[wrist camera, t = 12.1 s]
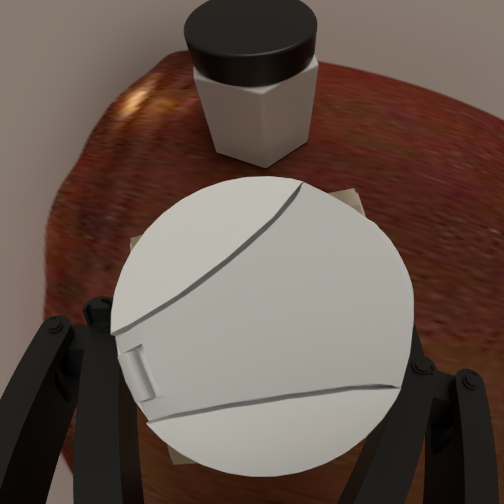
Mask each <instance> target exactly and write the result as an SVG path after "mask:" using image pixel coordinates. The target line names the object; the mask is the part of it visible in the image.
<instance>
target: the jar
mask: <svg viewBox="0 0 504 504" xmlns="http://www.w3.org/2000/svg"><path fill="white" fill-rule="evenodd" d="M316 33H317V19H316V16H315V14H314V13H313V11H312V10H311V9H310V8H309V7H308V6H307V5H306V4H304V3H303V2H302V1H300V0H209V1H207V2H205V3H204V4H202V5H201V6H199V7H198V8H196V9H195V10H194V11H193V12H192V13H191V14H190V16H189V17H188V18H187V20H186V22H185V25H184V36H185V40H186V43H187V46H188V50H189V53H190V57H191V60H192V63H193V65H194V81H195V84H196V87H197V91H198V94H199V97H200V101H201V104H202V107H203V110H204V114H205V117H206V120H207V123H208V127H209V130H210V133H211V137H212V140H213V143H214V146H215V150H216V152H217V153H220V154H223V155H226V156H229V157H232V158H235V159H239V160H242V161H245V162H248V163H251V164H254V165H256V166H259V167H262V168H268V167H269V166H271V165H272V164H274V163H275V162H277V161H278V160H280V159H281V158H283V157H284V156H286V155H287V154H289V153H290V152H292V151H293V150H295V149H297V148H298V147H300V146H301V145H303V144H304V143H306V142H307V141H308V135H309V129H310V122H311V115H312V109H313V102H314V95H315V87H316V80H317V73H318V61H317V59H316V57H315V54H314V52H315V43H316Z"/></svg>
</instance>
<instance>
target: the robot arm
mask: <svg viewBox="0 0 504 504" xmlns="http://www.w3.org/2000/svg"><path fill="white" fill-rule="evenodd" d="M112 305H113V298H110V297H104V296H101V297H96V298H94V299H92V300H89V301H88V302H87V303H86V304H85V305H84V307H83V312H84V315H85V318H86V321H87V324H88V325H71V323H70V320H69V319H68V318H67V317H65V316H62V315H56V316H52V317H50V318H48V319H47V320H45V321H44V322H43V323H42V325H41V326H40V328H39V330H38V331H37V333H36V335H35V336H34V338H33V340H32V341H31V343H30V345H29V347H28V348H27V350H26V352H25V354H24V355H23V357H22V359H21V361H20V363H19V364H18V366H17V368H16V370H15V372H14V374H13V375H12V377H11V379H10V381H9V383H8V385H7V387H6V389H5V391H4V393H3V395H2V397H1V399H0V504H46V501H47V496H48V493H49V489H50V485H51V482H52V478H53V474H54V472H55V468H56V465H57V462H58V458H59V455H60V452H61V449H62V446H63V443H64V440H65V437H66V434H67V431H68V428H69V425H70V422H71V419H72V416H73V414H74V411H75V408H76V405H77V412H76V425H75V440H74V465H73V495H74V496H73V498H74V504H144V498H143V489H142V480H141V470H140V459H139V446H138V430H137V407H136V403H135V401H134V398H133V396H132V394H131V391H130V389H129V387H128V385H127V383H126V381H125V378H124V375H123V372H122V368H121V366H120V363H119V360H118V358H117V357H118V350H117V343H116V339H115V338H116V336H113V335H111V311H112ZM424 436H425V479H424V497H423V504H499V496H498V476H497V463H496V453H495V445H494V437H493V430H492V423H491V417H490V411H489V406H488V400H487V395H486V390H485V386H484V382H483V380H482V378H481V376H480V375H479V374H478V373H476V372H475V371H473V370H471V369H461V370H460V371H458V372H457V374H456V375H455V376H453V375H450V374H446V373H443V372H440V371H438V370H437V369H436V366H435V364H434V362H433V361H431V360H430V359H429V358H428V357H426V356H424V352H423V349H422V346H421V343H420V339H419V336H418V333H417V331H416V327H415V324H414V321H413V331H412V340H411V349H410V355H409V359H408V363H407V367H406V370H405V374H404V378H403V382H402V386H401V390H400V392H399V394H398V396H397V398H396V400H395V402H394V403H393V405H392V406H391V408H390V409H389V411H388V412H387V414H386V415H385V417H384V418H383V419H382V421H381V422H380V423H379V424H378V425H377V426H376V427H375V428H374V429H373V430H372V431H371V432H370V433H369V434H368V437H367V439H366V442H365V444H364V447H363V449H362V451H361V454H360V456H359V458H358V461H357V463H356V465H355V467H354V470H353V472H352V474H351V476H350V478H349V480H348V482H347V484H346V487H345V489H344V491H343V493H342V495H341V497H340V499H339V501H338V503H337V504H404V502H405V500H406V497H407V494H408V491H409V488H410V485H411V482H412V479H413V476H414V472H415V469H416V466H417V462H418V459H419V455H420V451H421V448H422V444H423V440H424Z"/></svg>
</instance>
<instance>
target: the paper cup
mask: <svg viewBox="0 0 504 504" xmlns="http://www.w3.org/2000/svg"><path fill="white" fill-rule="evenodd" d="M413 319H414V299H413V289H412V284H411V280H410V277H409V275H408V272H407V269H406V267H405V265H404V263H403V261H402V259H401V257H400V255H399V253H398V251H397V250H396V248H395V247H394V245H393V244H392V242H391V241H390V239H389V238H388V237H387V236H386V235H385V233H384V232H383V231H381V230H380V228H379V227H378V226H377V225H376V224H375V223H373V222H372V221H370V220H369V219H367V218H365V217H364V216H363V215H362V214H360V213H359V212H358V211H356V210H355V209H353V208H352V207H350V206H349V205H347V204H345V203H343V202H342V201H340V200H338V199H337V198H335V197H333V196H331V195H329V194H327V193H325V192H323V191H321V190H319V189H317V188H315V187H313V186H310V185H308V184H306V183H304V182H302V181H298V180H295V179H289V178H280V177H271V176H264V177H245V178H239V179H234V180H229V181H224V182H221V183H218V184H215V185H212V186H209V187H206V188H203V189H201V190H199V191H197V192H195V193H193V194H192V195H190V196H188V197H186V198H184V199H182V200H181V201H179V202H178V203H176V204H175V205H174V206H172V207H171V208H170V209H168V210H167V211H166V212H164V213H163V214H162V215H161V216H160V217H159V218H158V219H157V220H156V221H155V222H154V223H153V224H152V225H151V226H150V227H149V228H148V229H147V230H146V231H145V233H144V234H143V235H142V237H141V238H140V240H139V241H138V242H137V244H136V245H135V246H134V248H133V249H132V251H131V253H130V255H129V257H128V259H127V261H126V263H125V265H124V267H123V269H122V272H121V274H120V277H119V280H118V283H117V286H116V289H115V294H114V299H113V305H112V311H111V335H113V336H116V338H115V339H116V343H117V350H118V357H117V358H118V360H119V363H120V366H121V368H122V372H123V375H124V378H125V381H126V383H127V385H128V387H129V389H130V391H131V394H132V396H133V398H134V401H135V403H137V405H138V406H139V407H140V409H141V410H142V412H143V413H144V414H145V416H146V417H147V419H148V420H149V421H148V422H147V423H146V424H147V425H148V426H149V427H150V428H151V429H152V430H153V431H154V432H155V433H156V434H157V435H158V436H159V437H160V438H161V439H162V440H163V441H164V442H166V443H167V444H168V445H170V446H171V447H172V448H174V449H175V450H176V451H178V452H179V453H181V454H182V455H184V456H186V457H188V458H190V459H192V460H194V461H196V462H198V463H200V464H202V465H204V466H207V467H210V468H213V469H216V470H219V471H222V472H225V473H230V474H236V475H243V476H250V477H275V476H282V475H288V474H294V473H299V472H303V471H306V470H309V469H312V468H315V467H318V466H320V465H323V464H325V463H327V462H329V461H331V460H333V459H335V458H337V457H339V456H340V455H342V454H344V453H346V452H347V451H349V450H350V449H351V448H353V447H354V446H355V445H356V444H358V443H359V442H360V441H362V440H363V439H364V438H365V437H366V436H367V435H368V434H369V433H370V432H371V431H372V430H373V429H374V428H375V427H376V426H377V425H378V424H379V423H380V422H381V421H382V419H383V418H384V417H385V415H386V414H387V412H388V411H389V409H390V408H391V406H392V405H393V403H394V402H395V400H396V398H397V396H398V394H399V392H400V390H401V386H402V382H403V378H404V374H405V370H406V367H407V363H408V359H409V355H410V349H411V340H412V331H413Z"/></svg>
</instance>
